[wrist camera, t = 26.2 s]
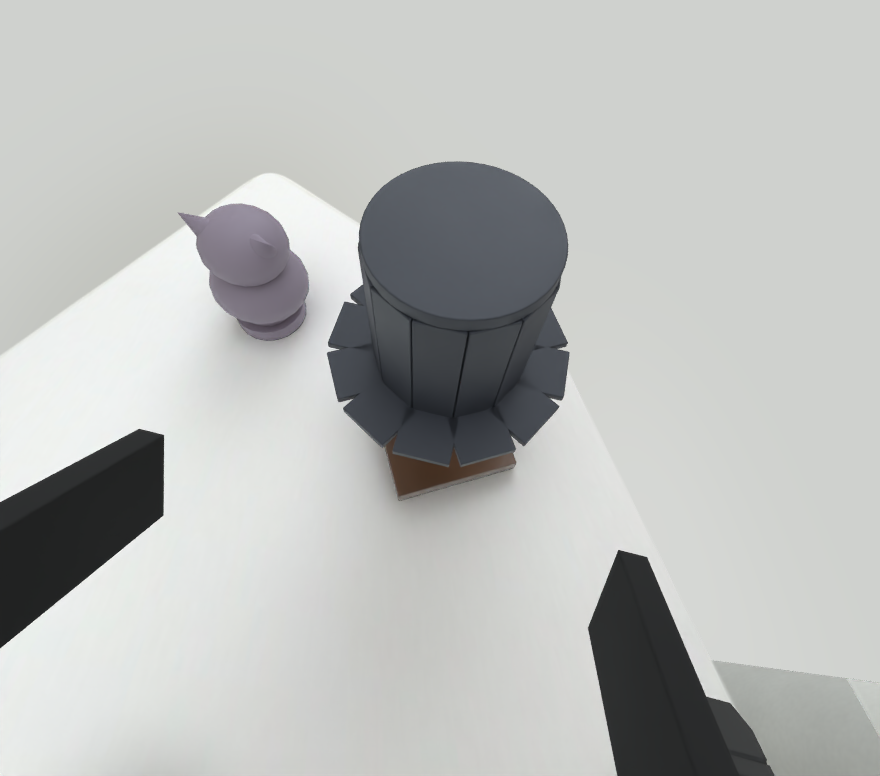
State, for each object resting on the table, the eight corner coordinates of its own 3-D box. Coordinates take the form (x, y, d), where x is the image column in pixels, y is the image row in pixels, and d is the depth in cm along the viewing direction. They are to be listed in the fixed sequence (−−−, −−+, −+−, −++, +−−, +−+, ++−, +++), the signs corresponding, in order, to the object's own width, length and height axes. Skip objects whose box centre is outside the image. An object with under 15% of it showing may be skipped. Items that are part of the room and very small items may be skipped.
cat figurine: (332, 294, 47) (307, 198, 37) (295, 359, 44) (256, 274, 33) (254, 269, 48) (208, 168, 38) (213, 330, 45) (149, 239, 34)
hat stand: (513, 468, 40) (613, 312, 20) (398, 501, 39) (379, 367, 18) (476, 368, 45) (526, 153, 24) (370, 393, 43) (329, 187, 22)
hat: (604, 427, 28) (694, 333, 19) (359, 495, 25) (330, 425, 16) (516, 243, 34) (553, 105, 25) (311, 284, 31) (270, 148, 22)
